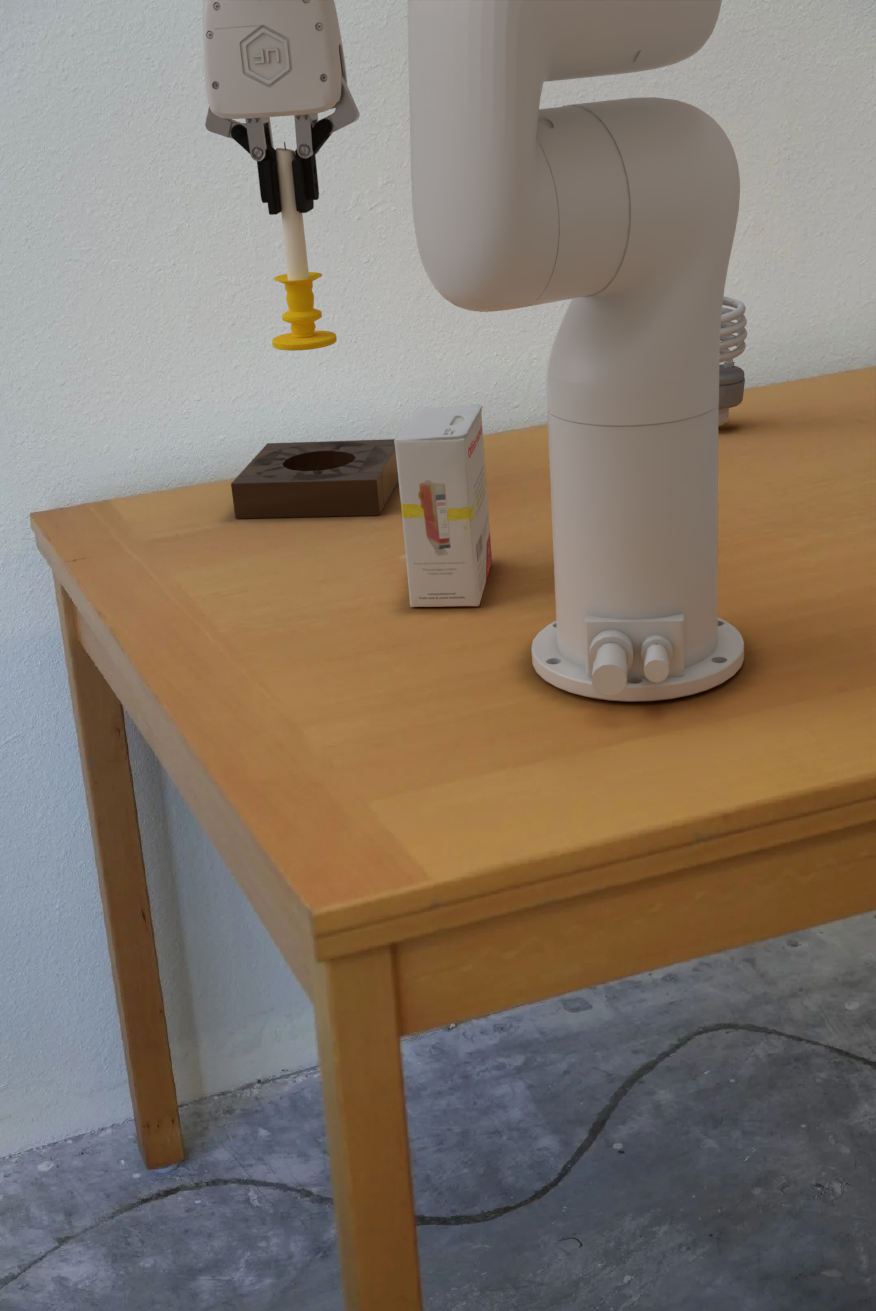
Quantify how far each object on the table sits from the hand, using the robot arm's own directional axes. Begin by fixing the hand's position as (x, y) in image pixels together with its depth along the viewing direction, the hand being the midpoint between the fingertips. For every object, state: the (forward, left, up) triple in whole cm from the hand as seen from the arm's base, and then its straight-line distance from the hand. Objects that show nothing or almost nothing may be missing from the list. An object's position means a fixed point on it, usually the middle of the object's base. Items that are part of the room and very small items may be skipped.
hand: (291, 209), depth 116 cm
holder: (0, 0, -23) cm, 23 cm away
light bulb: (+17, -33, -23) cm, 44 cm away
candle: (0, 0, -11) cm, 11 cm away
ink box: (-22, -14, -23) cm, 35 cm away
